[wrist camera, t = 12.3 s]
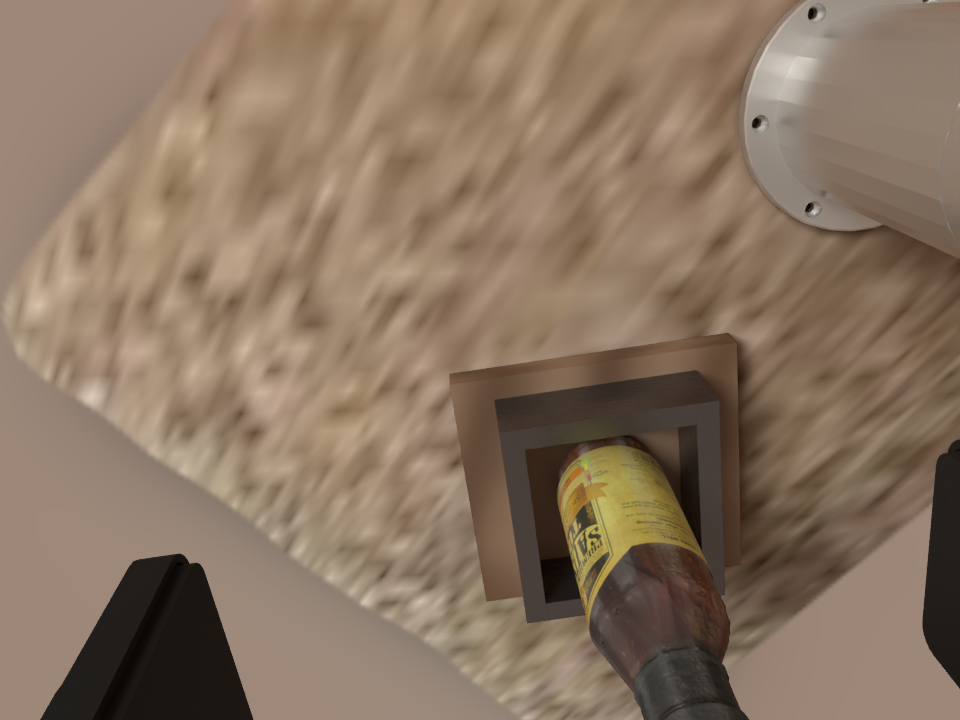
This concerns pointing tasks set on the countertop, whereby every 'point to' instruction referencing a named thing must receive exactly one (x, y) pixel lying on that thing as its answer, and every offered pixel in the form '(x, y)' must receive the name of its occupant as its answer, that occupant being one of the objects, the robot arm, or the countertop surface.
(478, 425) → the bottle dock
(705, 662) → the sauce bottle
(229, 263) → the countertop surface
